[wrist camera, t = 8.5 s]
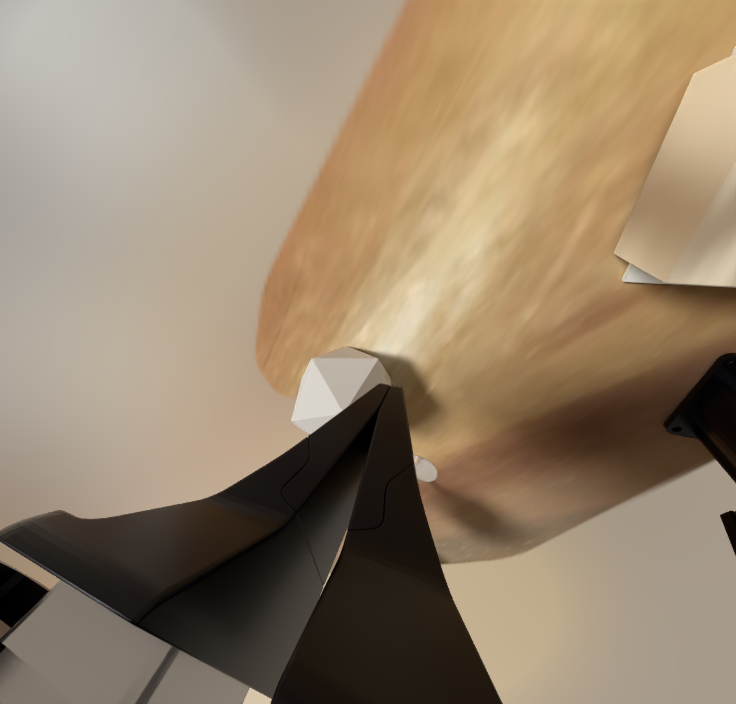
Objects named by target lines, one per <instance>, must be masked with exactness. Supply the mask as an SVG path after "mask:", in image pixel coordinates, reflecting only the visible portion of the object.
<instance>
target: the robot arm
mask: <svg viewBox="0 0 736 704" xmlns="http://www.w3.org/2000/svg"><path fill="white" fill-rule="evenodd" d="M731 361H734V362H733V363H730V364H728V363H729V362H731ZM663 426H664V428H665V429H666V431H667V432H668V433H670V434H674V435H679V436H685V437H690V438H696V439H699V440H700V441H701V442H702V444H703V445H704V446H705V447H706V448H707V450H708V451H709V452H710V453H711V454H712V455H713V457H714V458H715V459H716V460H717V461H718V462H719V464H720V465H721V466H722V467H723V468H724V470H725V471H726V472H727V473H728V474H729V475H730V477H731V478H732V479H733V480H734V481H735V483H736V353H729V354H725V355H723V356H720V357H719V358H718V359H717V360H716V361H715V363H714V364H713V365H712V366H711V367H710V369H709V370H708V371H707V372H706V374H705V375H704V376H703V377H702V378H701V380H700V381H699V382H698V383H697V384H696V386H695V387H694V388H693V389H692V391H691V392H690V393H689V394H688V395H687V397H686V398H685V399H684V400H683V401H682V403H681V404H680V405H679V406H678V408H677V409H676V410H675V411H674V412H673V414H672V415H671V416H670V417H669V418H668V420H667V421H666V422H665V423H664V425H663ZM674 427H675V428H674ZM720 517H721V519H722V522H723V524H724V527H725V530H726V532H727V534H728V537H729V540H730V542H731V545H732V547H733V550H734V552H735V555H736V511H735V512H734V511H729V512H726V513H724V514H721V515H720ZM349 522H350V523H349ZM348 525H349V527H348ZM347 527H348V532H347V534H346V538H345V541H344V545H343V548H342V551H341V554H340V556H339V558H338V561H337V563H336V565H335V567H334V569H333V571H332V573H331V575H330V577H329V579H328V581H327V583H326V585H325V587H324V589H323V585H324V584H325V582H326V579H327V576H328V574H329V572H330V569H331V567H332V564H333V562H334V559H335V557H336V554H337V552H338V549H339V547H340V545H341V542H342V540H343V537H344V535H345V532H346V530H347ZM0 542H2V543H3V544H5V545H6V546H8V547H10V548H11V549H13V550H14V551H16V552H18V553H19V554H21V555H22V556H24V557H25V558H27V559H29V560H30V561H32V562H33V563H35V564H37V565H38V566H40V567H41V568H43V569H45V570H46V571H48V572H49V573H51V574H52V575H54V576H56V577H57V578H59V579H60V581H59V582H58V583H57V584H56V585H55V586H54V587H53V588H52V589H51V590H50V589H48V588H47V587H45V586H44V585H42V584H41V583H39V582H38V581H36V580H34V579H33V578H31V577H29V576H27V575H26V574H24V573H22V572H20V571H19V570H17V569H15V568H13V567H12V566H10V565H8V564H6V563H4V562H2V561H0V704H242V703H243V701H244V699H245V696H246V694H247V692H248V690H249V687H250V688H252V689H254V690H256V691H258V692H260V693H262V694H264V695H266V696H267V697H269V698H271V699H272V701H271V704H503V703H502V701H501V699H500V698H499V695H498V693H497V691H496V689H495V687H494V685H493V683H492V680H491V678H490V676H489V674H488V672H487V670H486V668H485V666H484V664H483V662H482V659H481V658H480V655H479V653H478V651H477V649H476V647H475V645H474V643H473V641H472V639H471V636H470V634H469V632H468V630H467V628H466V626H465V624H464V622H463V620H462V618H461V616H460V613H459V611H458V609H457V607H456V605H455V603H454V601H453V598H452V596H451V593H450V591H449V588H448V585H447V583H446V580H445V577H444V574H443V571H442V568H441V565H440V561H439V558H438V555H437V551H436V548H435V545H434V541H433V538H432V535H431V531H430V528H429V525H428V521H427V518H426V515H425V511H424V507H423V503H422V500H421V496H420V491H419V486H418V481H417V475H416V468H415V462H414V456H413V450H412V443H411V437H410V430H409V424H408V417H407V411H406V404H405V398H404V392H403V388H402V387H400V386H394V385H392V386H390V385H389V384H383V383H379V384H377V385H376V386H375V387H373V388H372V389H371V390H369V391H368V392H367V393H365V394H364V395H363V396H361V397H360V398H359V399H357V400H356V401H355V402H353V403H352V404H351V405H349V406H348V407H347V408H345V409H344V410H342V411H341V412H340V413H338V414H337V415H336V416H334V417H333V418H332V419H330V420H329V421H328V422H326V423H325V424H324V425H322V426H321V427H320V428H318V429H317V430H316V431H314V432H313V433H312V434H310V435H309V436H308V437H306V438H305V439H303V440H302V441H301V442H299V443H298V444H297V445H295V446H294V447H292V448H291V449H290V450H288V451H287V452H285V453H284V454H282V455H281V456H279V457H277V458H276V459H274V460H273V461H271V462H270V463H268V464H266V465H265V466H263V467H262V468H260V469H258V470H257V471H255V472H253V473H252V474H250V475H248V476H247V477H245V478H243V479H242V480H240V481H239V482H237V483H235V484H234V485H232V486H230V487H229V488H227V489H225V490H223V491H222V492H219V493H217V494H215V495H213V496H210V497H208V498H204V499H201V500H197V501H192V502H187V503H182V504H177V505H172V506H166V507H162V508H157V509H151V510H146V511H141V512H135V513H131V514H125V515H120V516H115V517H108V518H100V519H82V518H78V517H75V516H74V515H71V514H70V513H67V512H65V511H62V510H57V511H53V512H50V513H46V514H42V515H38V516H34V517H31V518H28V519H25V520H22V521H20V522H17V523H15V524H12V525H10V526H8V527H6V528H4V529H2V530H0ZM322 589H323V591H322ZM321 592H322V594H321ZM320 594H321V596H320ZM319 597H320V598H319ZM318 599H319V600H318Z"/></svg>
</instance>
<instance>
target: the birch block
mask: <svg viewBox="0 0 736 704" xmlns="http://www.w3.org/2000/svg"><path fill="white" fill-rule="evenodd" d="M613 254H615V255H617V256H619V257H620V258H622V259H624V260H626V261H627V262H629V263H631V264H633V265H634V266H636V267H638V268H640V269H641V270H643V271H645V272H647V273H649V274H650V275H652V276H654V277H656V278H657V279H659V280H661V281H663V282H664V283H678V284H697V285H715V286H734V287H736V54H734V55H732V56H730V57H728V58H726V59H724V60H721V61H719V62H717V63H715V64H713V65H711V66H709V67H706V68H704V69H702V70H700V71H698V72H696V73H694V74H693V76H692V79H691V81H690V83H689V85H688V88H687V90H686V92H685V94H684V97H683V99H682V101H681V103H680V106H679V108H678V110H677V112H676V114H675V117H674V119H673V121H672V123H671V126H670V128H669V130H668V132H667V135H666V137H665V139H664V141H663V144H662V146H661V148H660V150H659V153H658V155H657V157H656V159H655V161H654V164H653V166H652V168H651V170H650V173H649V175H648V177H647V179H646V182H645V184H644V186H643V188H642V191H641V193H640V195H639V197H638V200H637V202H636V204H635V206H634V208H633V211H632V213H631V215H630V217H629V220H628V222H627V224H626V226H625V229H624V231H623V233H622V235H621V238H620V240H619V242H618V244H617V247H616V249H615V251H614V253H613Z"/></svg>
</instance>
